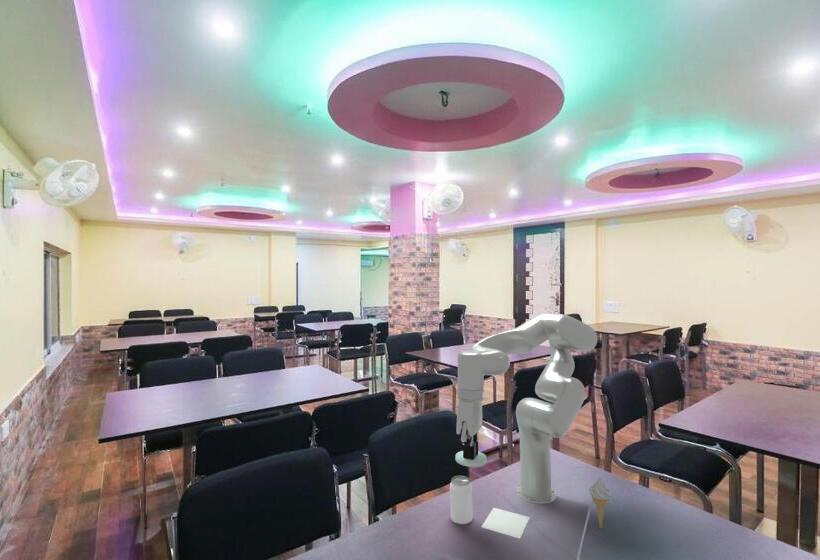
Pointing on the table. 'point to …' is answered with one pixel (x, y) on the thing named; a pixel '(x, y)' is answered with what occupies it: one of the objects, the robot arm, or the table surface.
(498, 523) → the mat
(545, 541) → the table surface
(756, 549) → the table surface
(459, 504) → the can
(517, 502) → the table surface
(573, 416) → the robot arm
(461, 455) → the lid
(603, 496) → the ice cream cone
